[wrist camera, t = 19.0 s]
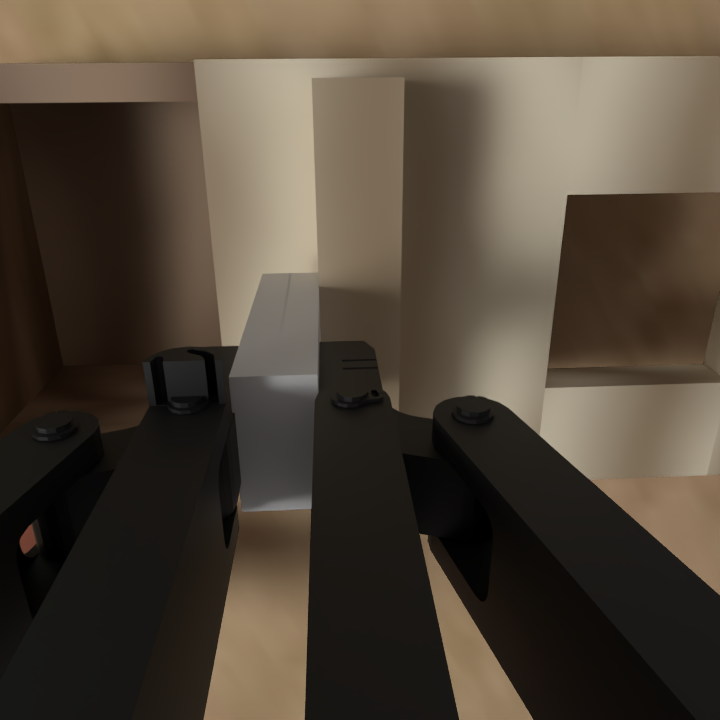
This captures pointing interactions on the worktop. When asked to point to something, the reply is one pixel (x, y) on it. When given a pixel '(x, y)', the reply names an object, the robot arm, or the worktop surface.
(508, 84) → the lid
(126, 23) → the worktop surface
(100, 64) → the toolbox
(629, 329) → the worktop surface
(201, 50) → the worktop surface
